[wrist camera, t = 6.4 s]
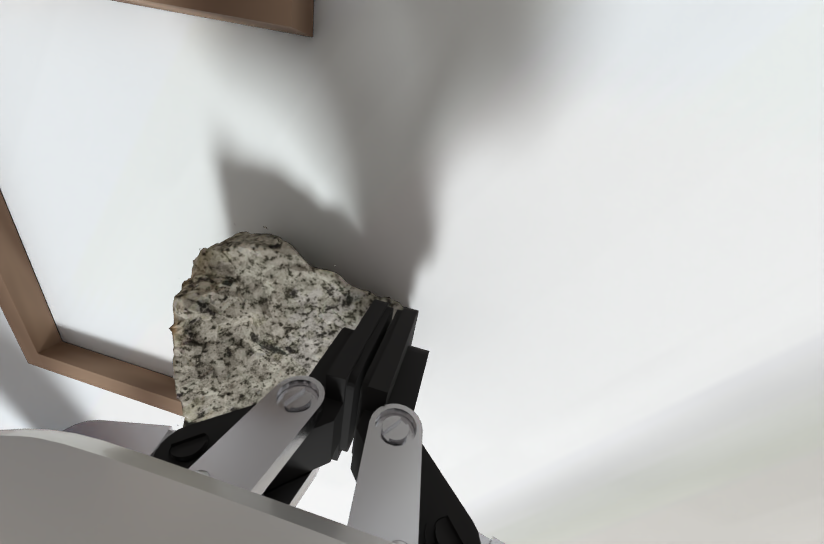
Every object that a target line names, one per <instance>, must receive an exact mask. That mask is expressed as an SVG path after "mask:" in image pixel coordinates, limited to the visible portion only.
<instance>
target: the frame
mask: <svg viewBox="0 0 824 544" xmlns="http://www.w3.org/2000/svg"><path fill="white" fill-rule="evenodd" d="M112 1H118V2H123V3H129V4H134V5H140V6H145V7H151V8H156V9H161V10H167V11H172V12H178V13H183V14H189V15H194V16H200V17H205V18H210V19H216V20H221V21H227V22H232V23H238V24H243V25H249V26H254V27H259V28H265V29H270V30H276V31H281V32H287V33H292V34H298V35H303V36H308V37H313V9H314V0H112ZM0 307H1V309H2V311H3V313H4V315H5V317H6V319H7V321H8V323H9V325H10V327H11V329H12V331H13V333H14V335H15V337H16V339H17V341H18V343H19V345H20V347H21V349H22V351H23V353H24V355H25V358H26V360H27V362H28V363H29V364H32V365H35V366H38V367H41V368H44V369H47V370H49V371H52V372H55V373H58V374H61V375H64V376H67V377H70V378H73V379H76V380H79V381H81V382H84V383H87V384H90V385H93V386H96V387H99V388H102V389H105V390H108V391H111V392H113V393H116V394H119V395H122V396H125V397H128V398H131V399H134V400H137V401H140V402H143V403H145V404H148V405H151V406H154V407H157V408H160V409H163V410H166V411H169V412H172V413H175V414H177V415H180V416H182V414H183V412H182V405H181V401H180V400H178V399H177V398H176V397H177V395H176V388H175V380H174V379H173V378H172V377H169V376H166V375H163V374H160V373H157V372H154V371H151V370H148V369H145V368H142V367H139V366H136V365H132V364H129V363H126V362H123V361H120V360H117V359H114V358H111V357H108V356H105V355H102V354H99V353H96V352H93V351H90V350H87V349H84V348H81V347H78V346H75V345H72V344H69V343H66V342H63V341H62V340H61V338H60V335H59V333H58V330H57V328H56V325H55V323H54V321H53V318H52V316H51V313H50V311H49V308H48V306H47V304H46V301H45V299H44V296H43V294H42V291H41V289H40V286H39V284H38V282H37V279H36V277H35V274H34V272H33V269H32V267H31V265H30V262H29V260H28V257H27V255H26V252H25V250H24V248H23V245H22V243H21V240H20V238H19V235H18V233H17V231H16V228H15V226H14V223H13V221H12V218H11V216H10V214H9V211H8V209H7V206H6V204H5V201H4V199H3V197H2V194H1V192H0Z"/></svg>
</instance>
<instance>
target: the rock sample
mask: <svg viewBox="0 0 824 544" xmlns="http://www.w3.org/2000/svg"><path fill="white" fill-rule="evenodd" d="M263 227H264V226H263ZM264 228H266V229H268V228H267V227H264ZM193 264H194V265H193V268H192V275H191V278H188V280H186V281H184V282H183V284H182V290H181V291H180V292H179V293H178V294H177V295H176V296H175V297H174V302H173V313H174V324H173V325H172V326H171V327H170V328H169V329H170V330H171V331H172V335H173V344H174V349H173V352H174V357H173V369H174V373H173V379H174V380H175V388H176V395H177V397H176V398H177V399H178V400H180V401H181V405H182V412H183V414H182V416H183V417H185V419H184V425H183V427H185V426H188V425H191V424H194V423H197V422H200V421H203V420H207V419H210V418H213V417H216V416H219V415H222V414H226V413H229V412H232V411H235V410H238V409H241V408H245V407H248V406H251V405H254V404H257V403H258V402H259V401H260V400H261V399H262V398H263V397H265V396H266V395H267V394H268V393H269V392H270V391H271V390H272V389H273V388H274V387H275V386H276V385H277V384H279V383H280V382H281V381H283V380H285V379H287V378H290V377H294V376H309V375H310V373H311V372H312V370H313V369H314V368H315V366H316V365H317V363H318V362H319V361H320V359H321V358H322V356H323V355H324V353H325V352H326V351H327V349H328V348H329V346H330V345H331V344H332V342H333V341H334V339H335V338H336V336H337V335H338V334H339V332H340V331H341V330H342V328H344V327H346V328H349V329H353V330H355V329H356V327H357V325H358V324H359V322H360V321H361V319H362V318H363V316H364V315H365V313H366V311H367V310H368V308H369V307H370V305H371V304H372V302H373V300H374V299H377V300H381V301H384V302H388V303H389V307H392V308H394V311H393V316H392V319H393V317H394V315H395V313H396V311H397V309H399V310H403V307H402V306H401V305H400V303H399V302H396V301H393V300H392V299H390V297H378V296H376V295H374V294H373V293H371V292H370V291H365V290H361V289H359V288H356V287H354V286H351V285H350V284H348V283H347V282H346V281H345V280H344V279H343V278H342V277H341V276H340V275H338V274H336V273H335V272H332V271H328V270H325V269H319V268H315V267H312V266H310V265H309V264H308V263H307V262H306V261H305V260H304V259H303V257H302V256H301V255H300V254H299V253H298V252H297V251H296V250H295V248H294V247H293V246H292V245H291V244H289V243H287V242H285V241H283V240H282V239H281V238H280V237H278V236H275V235H271V234H267V233H265V234H258V233H255V234H250V233H248V232H240V233H237V234H235V235H234V236H233V237H231V238H228V239H226V240H224V241H223V242H221V243H217V244H214V245H212V246H211V247H209V248H208V249H207V248H203V249H202V250H201V251H200V253H199V255H198V256H197V258H196V259H195V260H193ZM335 266H336V265H335ZM177 426H178V425H177Z"/></svg>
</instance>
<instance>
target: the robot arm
mask: <svg viewBox="0 0 824 544" xmlns="http://www.w3.org/2000/svg"><path fill="white" fill-rule="evenodd" d="M393 311H394V308H392V307H389V303H388V302H384V301H381V300H377V299H374V300H373V302H372V304H371V305H370V307H369V308H368V310H367V311H366V313H365V315H364V316H363V318H362V319H361V321H360V322H359V324H358V325H357V327H356V329H355V330H353V329H349V328H346V327H344V328H342V330H341V331H340V332H339V334H338V335H337V336H336V338H335V339H334V341H333V342H332V344H331V345H330V346H329V348H328V349H327V351H326V352H325V353H324V355H323V356H322V358H321V359H320V361H319V362H318V363H317V365H316V366H315V368H314V369H313V370H312V372H311V373H310V375H309V376H294V377H290V378H287V379H285V380H283V381H281V382H280V383H279V384H277V385H276V386H275V387H274V388H273V389H272V390H271V391H270V392H269V393H268V394H267V395H266V396H265V397H263V398H262V399H261V400H260V401H259V402H258V403H257V404H254V405H251V406H248V407H245V408H241V409H238V410H235V411H232V412H229V413H226V414H222V415H219V416H216V417H213V418H210V419H207V420H203V421H200V422H197V423H194V424H191V425H188V426H185V427H183V428H181V429H178V430H177V431H176V430H172V426H165V425H153V424H141V423H129V422H117V421H105V420H92V421H86V422H82V423H79V424H75V425H73V426H71V427H69V428H67V429H65V430H63V431H58V430H47V429H11V430H0V544H505V543H503V542H501V541H500V540H498V539H497V538H495V537H492V538H491V540H490V539H489V538H487V537H486V536H484V535H483V534H481V533H479V532H478V531H477V529H476V527H475V525H474V523H473V521H472V519H471V518H470V516H469V515H468V513H467V512H466V510H465V509H464V507H463V506H462V504H461V502H460V501H459V499H458V498H457V496H456V495H455V493H454V492H453V490H452V489H451V487H450V486H449V484H448V483H447V481H446V480H445V478H444V477H443V475H442V473H441V472H440V470H439V469H438V467H437V466H436V464H435V463H434V461H433V460H432V458H431V457H430V455H429V454H428V452H427V451H426V449H425V447H424V446H423V444H422V432H423V430H422V423H421V421H420V419H419V417H418V415H417V414H416V413H415V412H414V409H415V405H416V401H417V397H418V393H419V389H420V385H421V381H422V377H423V373H424V369H425V366H426V362H427V358H428V354H429V351H427V350H424V349H420V348H416V347H413V346H411V344H412V339H413V335H414V330H415V325H416V321H417V316H418V310H414V309H410V308H407V307H404V308H403V310H399V309H397V311H396V313H395V315H394V317H393V319H392V316H393ZM353 438H354V440H353ZM352 440H353V447H352V454H353V456H352V463H351V471H352V473H353V475H354V478H355V480H356V487H355V492H354V496H353V501H352V506H351V511H350V515H349V520H348V525H347V526H346V525H343V524H341V523H338V522H335V521H332V520H330V519H327V518H324V517H321V516H318V515H316V514H313V513H310V512H307V511H304V510H302V509H299V508H296V505H297V504H298V502H299V501H300V499H301V498H302V496H303V495H304V493H305V492H306V490H307V489H308V487H309V486H310V484H311V483H312V481H313V480H314V478H315V477H316V475H317V473H318V470H319V467H320V466H323V465H325V464H327V463H329V462H330V461H331V459H333V460H336V461H337V460H338V458H339V455H340V453H341V451H342V450H343V451H346V452H347V451H348V449H349V447H350V445H351V443H352Z"/></svg>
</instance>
